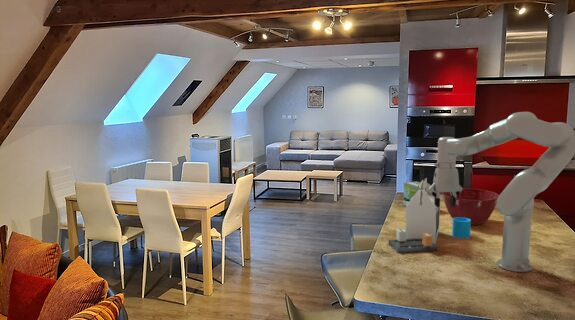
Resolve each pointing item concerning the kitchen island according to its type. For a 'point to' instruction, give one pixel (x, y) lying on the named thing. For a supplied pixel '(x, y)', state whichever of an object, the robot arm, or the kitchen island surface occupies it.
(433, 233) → the gable box
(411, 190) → the tea box
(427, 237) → the fader orange
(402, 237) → the fader ivory
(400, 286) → the kitchen island surface
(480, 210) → the mixing bowl
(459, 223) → the mug
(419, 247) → the console
